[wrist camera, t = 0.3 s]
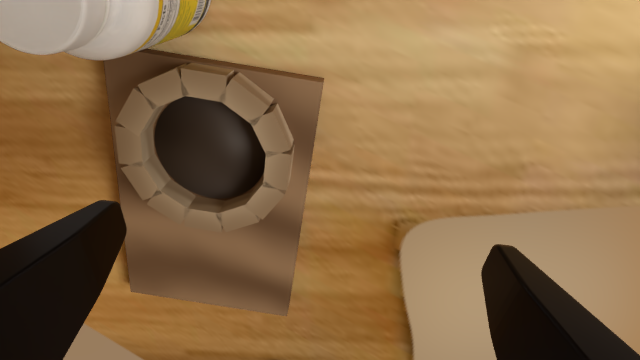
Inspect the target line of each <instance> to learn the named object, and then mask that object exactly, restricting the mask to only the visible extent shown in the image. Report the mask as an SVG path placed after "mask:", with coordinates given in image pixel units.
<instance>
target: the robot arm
mask: <svg viewBox="0 0 640 360" xmlns="http://www.w3.org/2000/svg"><path fill="white" fill-rule="evenodd" d="M126 233H127V227H126V223H125V219H124V216H123V213H122V209H121V206H120V204H119V203H118V202H115V201H106V200H100V201H97V202H95V203H93V204H91V205H89V206H87V207H85V208H83V209H81V210H78V211H76V212H74V213H72V214H70V215H68V216H66V217H64V218H62V219H60V220H58V221H56V222H54V223H52V224H50V225H48V226H46V227H44V228H42V229H40V230H38V231H36V232H34V233H32V234H30V235H28V236H25V237H23V238H21V239H19V240H17V241H15V242H13V243H11V244H9V245H7V246H5V247H3V248H1V249H0V360H63V358H64V356H65V355H66V353H67V351H68V349H69V348H70V346H71V344H72V342H73V340H74V339H75V337H76V335H77V334H78V332H79V330H80V328H81V327H82V325H83V323H84V321H85V320H86V318H87V316H88V314H89V313H90V311H91V309H92V307H93V306H94V304H95V302H96V300H97V299H98V297H99V295H100V293H101V291H102V289H103V287H104V285H105V283H106V280H107V278H108V276H109V274H110V271H111V269H112V267H113V264H114V262H115V260H116V257H117V255H118V253H119V251H120V248H121V246H122V244H123V241H124V239H125V237H126ZM482 283H483V289H484V296H485V303H486V309H487V316H488V322H489V328H490V334H491V338H492V343H493V347H494V350H495V354H496V357H497V360H640V355H639V354H637V353H636V352H635V351H634V350H633V349H632V348H631V347H629V346H628V345H627V344H626V343H625V342H624V341H623V340H621V339H620V338H619V337H618V336H617V335H616V334H614V333H613V332H612V331H611V330H610V329H609V328H607V327H606V326H605V325H604V324H603V323H602V322H600V321H599V320H598V319H597V318H596V317H595V316H593V315H592V314H591V313H590V312H589V311H588V310H587V309H586V308H584V307H583V306H582V305H581V304H580V303H579V302H577V301H576V300H575V299H574V298H573V297H572V296H571V295H569V294H568V293H567V292H566V291H565V290H563V289H562V288H561V287H560V286H559V285H558V284H556V283H555V282H554V281H553V280H552V279H551V278H549V277H548V276H547V275H546V274H545V273H544V272H543V271H542V270H540V269H539V268H538V267H537V266H536V265H535V264H534V263H532V262H531V261H530V260H529V259H528V258H526V257H525V256H524V255H523V254H522V253H521V252H519V250H517V249H516V248H515V247H513V246H509V245H500V244H497V245H494V246H493V247H492V249H491V251H490V253H489V255H488V257H487V259H486V261H485V263H484V265H483V268H482Z"/></svg>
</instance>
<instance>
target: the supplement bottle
mask: <svg viewBox="0 0 640 360" xmlns="http://www.w3.org/2000/svg"><path fill="white" fill-rule="evenodd" d="M210 1H211V0H0V41H1V42H2V43H4V44H6V45H8V46H10V47H12V48H14V49H16V50H19V51H22V52H25V53H30V54H36V55H49V54H55V53H59V52H65V53H68V54H70V55H73V56H76V57H79V58H83V59H89V60H110V59H115V58H119V57H123V56H126V55H129V54H132V53H135V52H137V51H140V50H143V49H146V48H149V47H152V46H154V45H157V44H160V43H163V42H166V41H169V40H171V39H174V38H177V37H180V36H182V35H185V34H186V33H188V32H190V31H192V30H193V29H194V28H195V27H197V26H198V25H199V24H200V23H201V21H202V20H203V19H204V17H205V15H206V13H207V11H208V8H209V6H210Z"/></svg>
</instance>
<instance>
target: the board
mask: <svg viewBox="0 0 640 360" xmlns="http://www.w3.org/2000/svg"><path fill="white" fill-rule="evenodd" d="M104 69H105V77H106V86H107V94H108V103H109V111H110V120H111V128H112V137H113V145H114V153H115V162H116V170H117V179H118V187H119V196H120V204H121V209H122V213H123V216H124V219H125V223H126V227H127V233H126V237H125V247H126V255H127V263H128V272H129V280H130V289H131V292H136V293H142V294H148V295H155V296H161V297H167V298H174V299H180V300H186V301H193V302H199V303H206V304H212V305H218V306H225V307H231V308H237V309H244V310H250V311H256V312H263V313H269V314H275V315H282V316H287V313H288V308H289V302H290V295H291V289H292V282H293V276H294V269H295V263H296V256H297V250H298V243H299V237H300V231H301V224H302V218H303V211H304V205H305V198H306V192H307V185H308V179H309V172H310V166H311V159H312V153H313V147H314V140H315V134H316V127H317V121H318V114H319V108H320V101H321V95H322V88H323V82H324V78H318V77H312V76H306V75H300V74H294V73H288V72H282V71H276V70H270V69H265V68H259V67H253V66H247V65H241V64H235V63H229V62H223V61H217V60H211V59H205V58H199V57H193V56H187V55H181V54H175V53H169V52H163V51H157V50H151V49H143V50H140V51H137V52H135V53H132V54H129V55H126V56H123V57H119V58H115V59H110V60H104Z"/></svg>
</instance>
